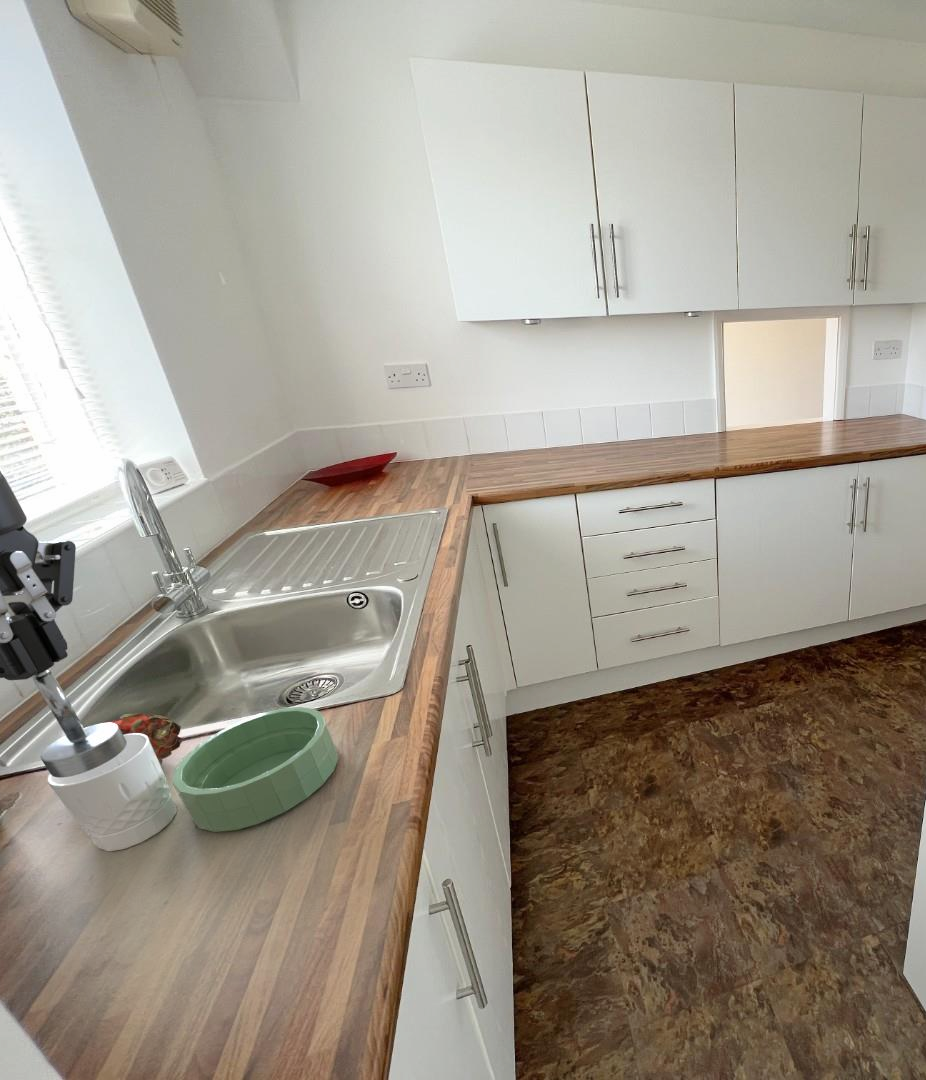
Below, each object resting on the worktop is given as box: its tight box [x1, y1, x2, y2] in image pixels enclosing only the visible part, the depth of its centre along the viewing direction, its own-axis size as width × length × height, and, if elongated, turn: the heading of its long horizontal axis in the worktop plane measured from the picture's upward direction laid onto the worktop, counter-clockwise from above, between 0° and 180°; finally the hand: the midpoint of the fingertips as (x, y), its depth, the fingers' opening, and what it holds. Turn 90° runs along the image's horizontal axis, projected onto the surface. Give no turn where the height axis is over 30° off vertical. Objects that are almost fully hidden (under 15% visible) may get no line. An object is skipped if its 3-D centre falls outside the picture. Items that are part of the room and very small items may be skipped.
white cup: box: [46, 733, 178, 852], centre depth 65 cm, size 8×8×10 cm
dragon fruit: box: [103, 713, 184, 765], centre depth 74 cm, size 8×8×12 cm
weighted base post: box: [6, 614, 127, 778], centre depth 53 cm, size 5×5×15 cm
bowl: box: [172, 706, 339, 833], centre depth 70 cm, size 15×15×6 cm
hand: (37, 668), depth 52 cm, fingers closed on weighted base post
